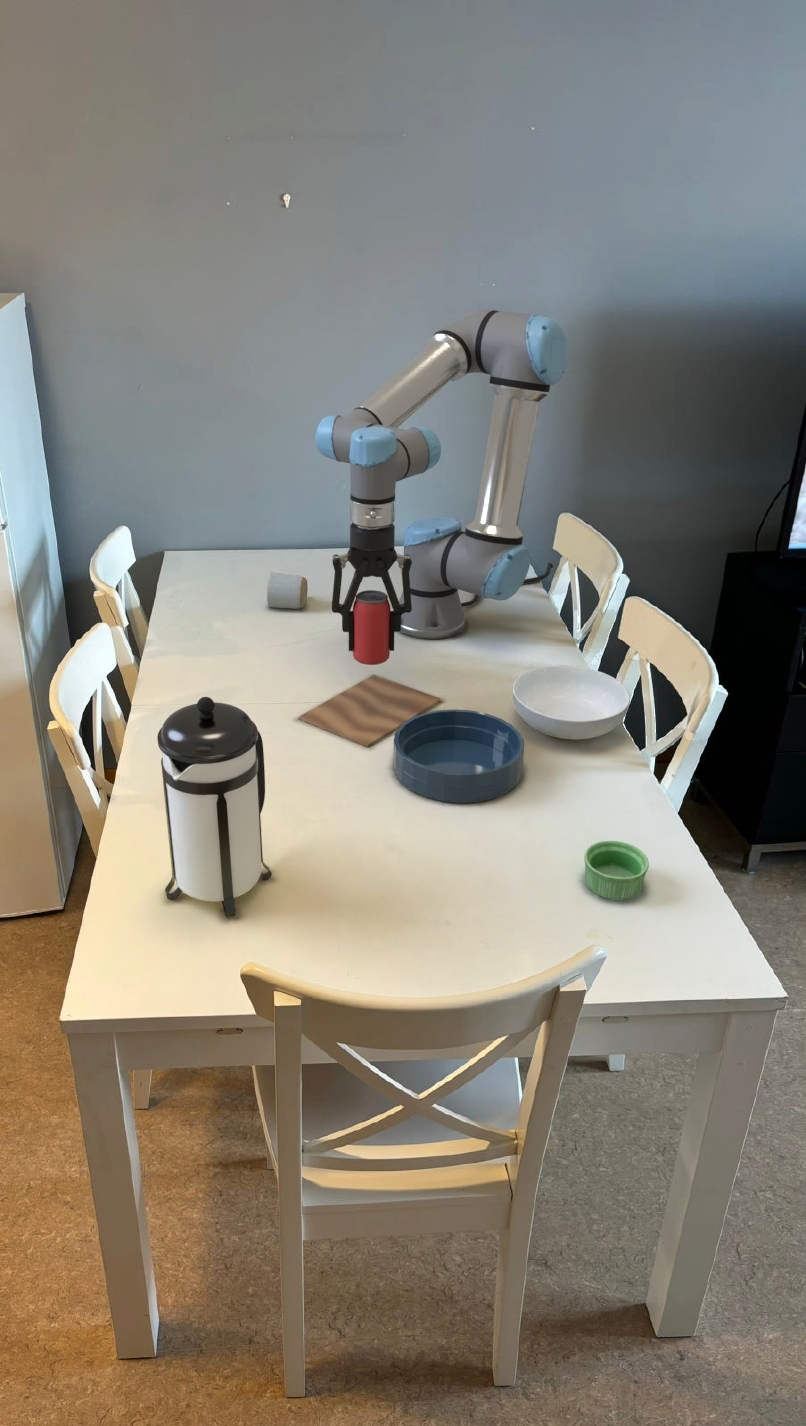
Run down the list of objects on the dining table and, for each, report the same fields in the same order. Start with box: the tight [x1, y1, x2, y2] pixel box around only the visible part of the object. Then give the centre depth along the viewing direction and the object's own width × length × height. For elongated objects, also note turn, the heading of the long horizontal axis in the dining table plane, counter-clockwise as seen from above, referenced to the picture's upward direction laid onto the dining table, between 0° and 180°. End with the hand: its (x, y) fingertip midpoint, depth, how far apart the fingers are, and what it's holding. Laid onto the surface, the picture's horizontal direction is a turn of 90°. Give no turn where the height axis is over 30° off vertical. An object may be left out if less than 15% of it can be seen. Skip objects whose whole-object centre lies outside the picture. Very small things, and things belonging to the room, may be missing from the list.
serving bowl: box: [511, 664, 631, 741], centre depth 193 cm, size 21×21×7 cm
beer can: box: [352, 589, 391, 666], centre depth 189 cm, size 7×7×12 cm
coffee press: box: [156, 696, 273, 919], centre depth 145 cm, size 17×16×30 cm
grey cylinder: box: [266, 572, 308, 610], centre depth 238 cm, size 11×8×8 cm
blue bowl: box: [392, 708, 525, 804], centre depth 179 cm, size 21×21×6 cm
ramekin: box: [584, 840, 650, 901], centre depth 152 cm, size 9×9×4 cm
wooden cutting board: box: [298, 674, 442, 748], centre depth 197 cm, size 22×16×1 cm
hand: (371, 647), depth 191 cm, fingers closed on beer can, 6 cm apart
